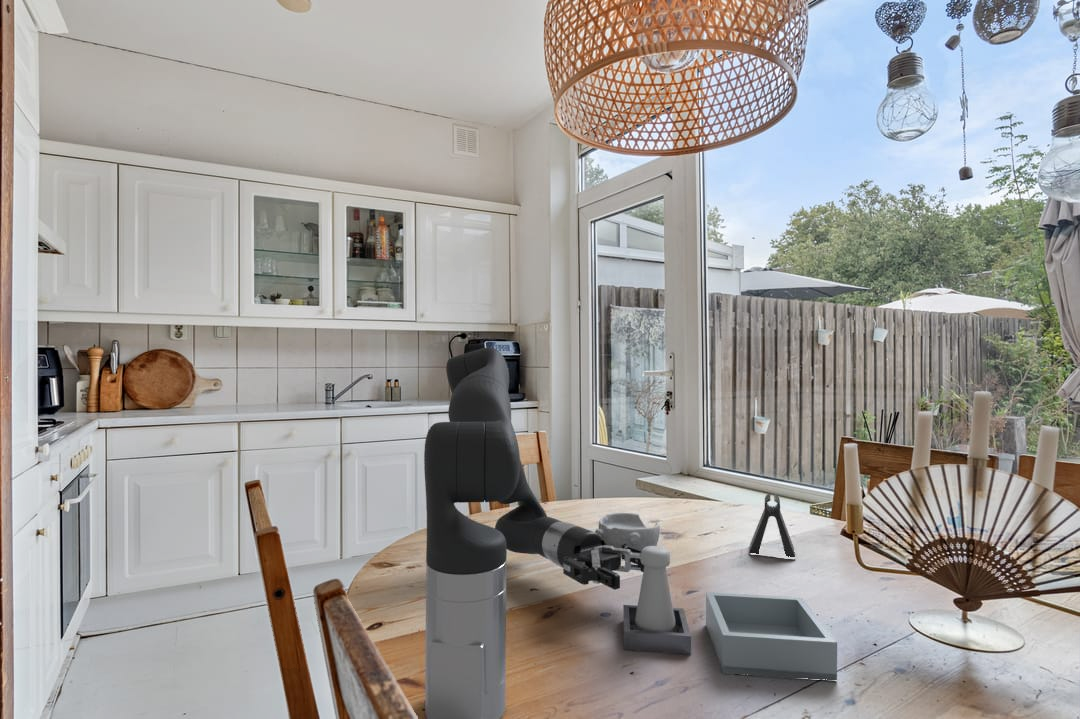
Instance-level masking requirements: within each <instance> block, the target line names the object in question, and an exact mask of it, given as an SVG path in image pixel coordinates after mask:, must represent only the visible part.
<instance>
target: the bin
mask: <svg viewBox="0 0 1080 719" xmlns="http://www.w3.org/2000/svg"><path fill="white" fill-rule="evenodd" d="M705 626H706V629H707V632H708V635H709V637H710V641H711V643H712V646H713V649H714V652H716V653H715V655H716V659H717V661H718V664H719V667H720V669H721V672H722V674H723V675H734V674H745V675H744V676H747V674H748V675H753V676H752V677H761V676H762V677H764V678H776V679H777V678H779V679H789V678H808V679H825V680H826V679H827V680H837V681H838V642H837V640H836V639H835V638H834V636H833V635H832V634H831V633H830V631H829V630H828V629H827V628H826V626H825V625H824V624H823V623H822V621H821V620H820V619H819V617H818V616H817V615H816V614H815V612H814V611H813V610H812V608H811V607H810V606H809V604H808V603H807V602H806V601H805V599H804V598H803V597H801V596H799V597H797V596H782V595H780V596H779V595H766V594H765V595H763V594H761V595H759V594H746V593H744V594H743V593H728V592H727V593H726V592H712V591H711V592H709V591H707V592H705Z"/></svg>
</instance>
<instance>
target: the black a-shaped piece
mask: <svg viewBox="0 0 1080 719" xmlns="http://www.w3.org/2000/svg"><path fill="white" fill-rule="evenodd" d="M773 498H774V499H773V500H774V502H775V503H776V505H773V506H772V505H769V503H768V502H771V492H770V493H767V494H766V495H765V497H764V509H763V511H762V513H761V516H760V519H759V521H758V523H757V525H756V529H755V531H754V533H753V535H752V538H751V540H750V543H749V547H748V548H749V550H748V554H749V553H756V554H759V549H760V546H762V543H763V538H764V535H765V532H766V529H767V525H768V522H769V519H770V518H771V517H773V518H775V521H776V524H777V529H778V531H779V536H780V539H781V542H782V546H783V549H784V551H785V554H786V556H788V557H789V556H790V557H795V556H796V552H794V549H795V547H794V544H793V541H792V539H791V537H790V533H789V531H788V527H787V525H786V523H785V520H784V517H783V514H782V512H781V502H780V501H781V500H780V497H779V495H777V493H774V495H773Z"/></svg>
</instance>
